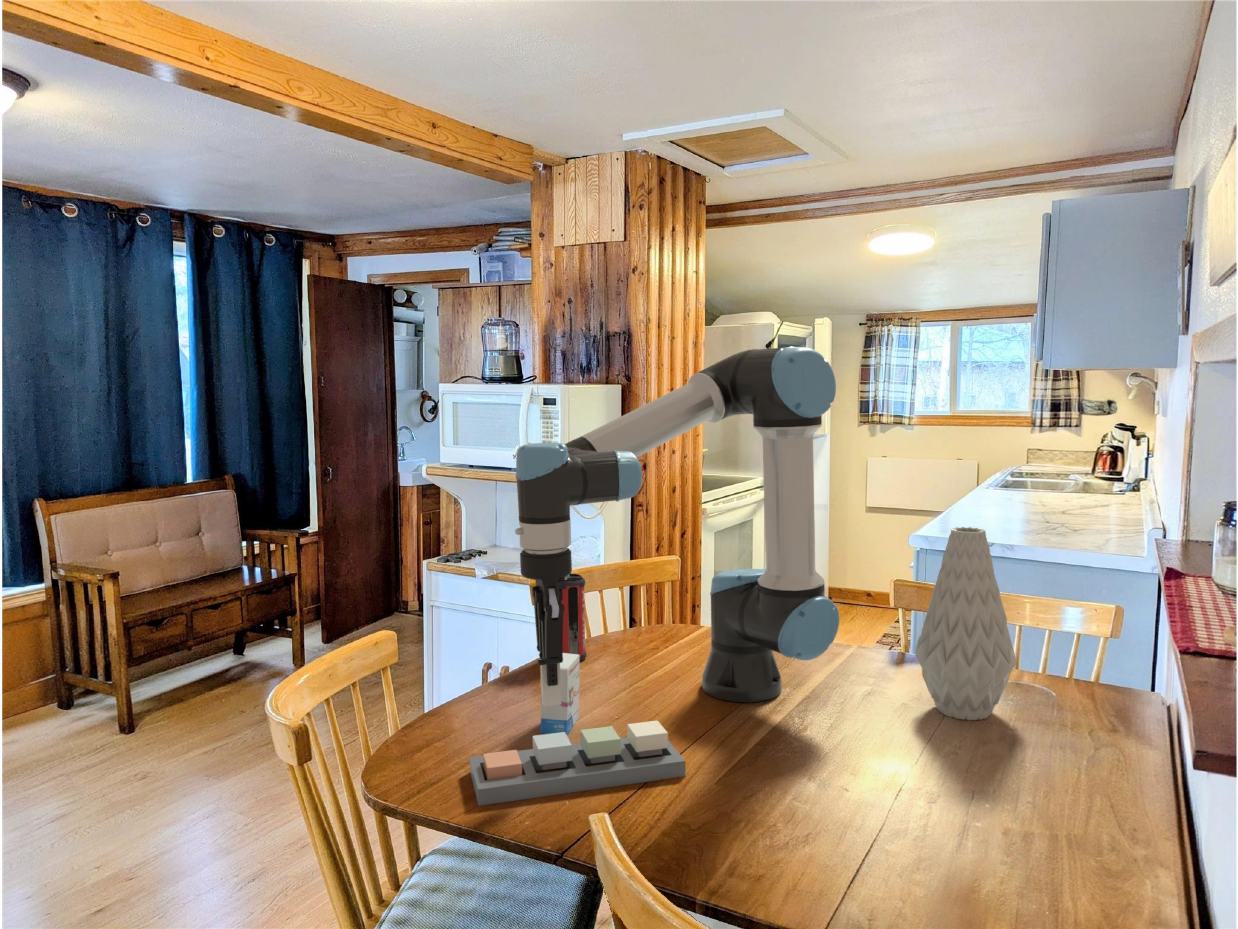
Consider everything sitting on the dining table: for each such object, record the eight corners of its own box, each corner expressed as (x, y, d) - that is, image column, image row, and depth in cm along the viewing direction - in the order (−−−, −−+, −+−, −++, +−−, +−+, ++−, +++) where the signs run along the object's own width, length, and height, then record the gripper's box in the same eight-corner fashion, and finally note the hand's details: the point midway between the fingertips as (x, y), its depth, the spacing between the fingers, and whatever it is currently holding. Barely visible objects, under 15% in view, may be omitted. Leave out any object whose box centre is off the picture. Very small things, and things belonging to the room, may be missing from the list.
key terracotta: (517, 772, 131) (516, 749, 130) (522, 787, 126) (521, 763, 126) (483, 776, 129) (483, 753, 129) (488, 792, 125) (487, 768, 124)
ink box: (568, 736, 145) (567, 668, 144) (539, 734, 146) (538, 666, 145) (580, 717, 153) (579, 652, 152) (553, 715, 154) (552, 650, 153)
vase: (960, 688, 165) (964, 518, 162) (1035, 718, 150) (1042, 532, 147) (893, 703, 158) (896, 526, 154) (964, 736, 143) (970, 541, 140)
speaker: (554, 652, 190) (552, 572, 188) (588, 653, 189) (587, 572, 187) (547, 663, 182) (545, 580, 180) (583, 664, 181) (582, 580, 179)
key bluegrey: (565, 754, 133) (564, 731, 132) (572, 768, 128) (571, 745, 127) (533, 758, 131) (532, 735, 131) (538, 772, 126) (538, 749, 126)
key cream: (657, 742, 137) (657, 720, 136) (667, 755, 132) (667, 732, 132) (627, 746, 135) (627, 724, 135) (636, 759, 131) (636, 736, 130)
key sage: (612, 748, 135) (611, 726, 134) (620, 761, 130) (620, 738, 130) (580, 752, 133) (580, 729, 133) (588, 766, 129) (588, 742, 128)
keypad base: (662, 746, 140) (662, 732, 140) (685, 776, 130) (685, 760, 129) (470, 772, 132) (469, 757, 132) (478, 805, 121) (477, 789, 121)
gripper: (513, 542, 132) (520, 691, 134) (527, 559, 119) (533, 723, 122) (561, 538, 134) (567, 685, 136) (580, 555, 121) (585, 716, 124)
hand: (551, 703), depth 129 cm, fingers closed
